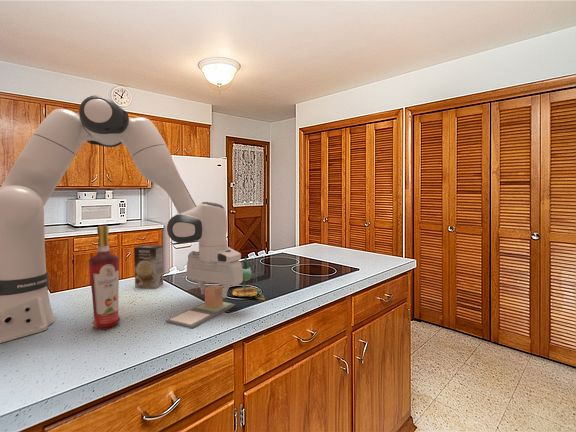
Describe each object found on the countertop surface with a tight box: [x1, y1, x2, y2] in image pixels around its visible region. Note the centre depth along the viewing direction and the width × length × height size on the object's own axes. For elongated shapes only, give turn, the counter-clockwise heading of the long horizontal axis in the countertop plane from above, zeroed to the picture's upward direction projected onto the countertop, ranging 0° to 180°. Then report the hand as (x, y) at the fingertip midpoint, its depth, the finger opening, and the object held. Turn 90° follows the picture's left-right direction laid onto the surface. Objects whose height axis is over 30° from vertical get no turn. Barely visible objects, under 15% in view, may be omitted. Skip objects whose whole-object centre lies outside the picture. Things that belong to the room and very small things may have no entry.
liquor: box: [88, 225, 121, 330], centre depth 91 cm, size 7×7×28 cm
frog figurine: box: [231, 257, 266, 301], centre depth 120 cm, size 10×18×15 cm, turn 34°
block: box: [204, 284, 224, 308], centre depth 106 cm, size 4×4×6 cm
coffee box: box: [133, 244, 164, 290], centre depth 130 cm, size 9×6×16 cm
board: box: [165, 301, 236, 329], centre depth 101 cm, size 20×10×1 cm, turn 154°
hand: (213, 295), depth 106 cm, fingers open, 6 cm apart
